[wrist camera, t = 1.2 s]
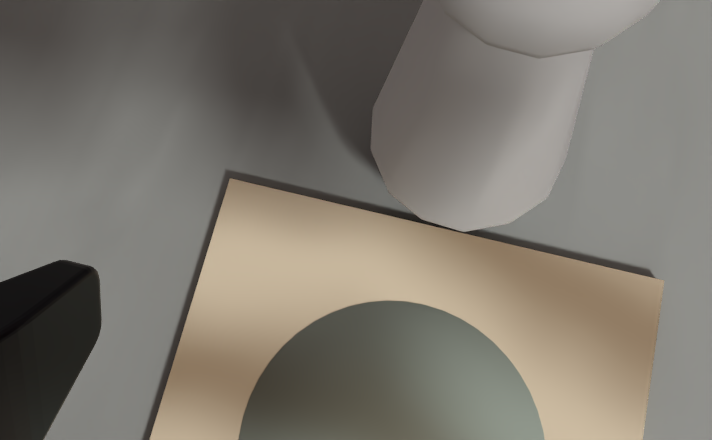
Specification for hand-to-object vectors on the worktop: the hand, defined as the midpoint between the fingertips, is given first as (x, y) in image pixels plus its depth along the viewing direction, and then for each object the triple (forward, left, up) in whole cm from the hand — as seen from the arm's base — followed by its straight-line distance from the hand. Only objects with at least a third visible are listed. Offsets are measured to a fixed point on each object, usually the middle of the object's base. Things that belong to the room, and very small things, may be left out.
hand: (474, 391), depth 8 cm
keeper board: (-2, -1, -13) cm, 13 cm away
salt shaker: (+7, +4, -13) cm, 15 cm away
